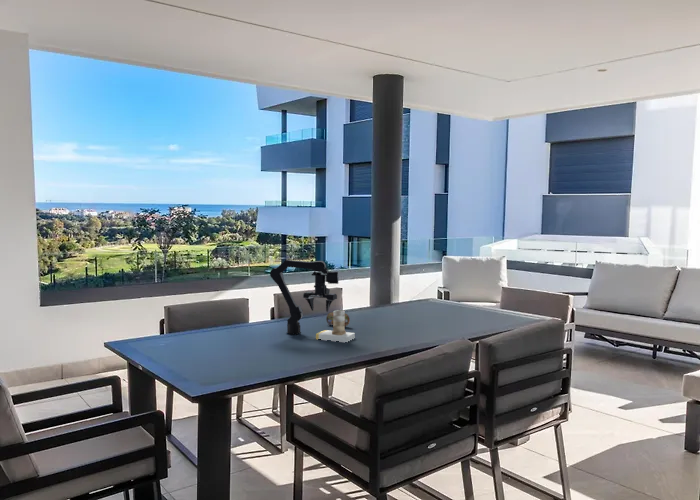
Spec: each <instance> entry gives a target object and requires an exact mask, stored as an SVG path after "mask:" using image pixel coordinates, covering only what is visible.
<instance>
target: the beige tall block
mask: <svg viewBox="0 0 700 500" xmlns="http://www.w3.org/2000/svg"><path fill="white" fill-rule="evenodd" d="M345 314H346V312H345V310H342V309H336V310H333V326H332V327H333V329H332V330H331V331H332V334H335V335H343V334H345V333H346V332H347V331H346V329H345V328H346V326H345Z"/></svg>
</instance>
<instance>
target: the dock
mask: <svg viewBox="0 0 700 500" xmlns="http://www.w3.org/2000/svg"><path fill="white" fill-rule="evenodd" d="M332 331H333V330H330V329H329V330H328V329H324V330H322V331H318V332H317V333H315V340H318V339H321V340H320V341H327V340H331V341H330V342H336V341H339V342H338V343H345V342H347V343H348V341H349V342H351V341H353V340H355V339H354V338H356V336H355V335H356V333H355V332H349V331H346V333H345V334H343V335H335V334H332ZM352 339H353V340H352ZM350 340H351V341H350Z"/></svg>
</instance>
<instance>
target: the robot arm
mask: <svg viewBox="0 0 700 500" xmlns="http://www.w3.org/2000/svg"><path fill="white" fill-rule="evenodd" d="M288 268H294V269H295V268H297V269H308V270H311V271H313V273H311V276H314V285H313V288H314V292H313V291H306V292H304V293H303V295H302V298H303V299H305V300H306V302H307V303H308V305H309V307H310V310H311V311H314V300H315V298H322V299H326V300H325V311H326V313H328V312H329V309H330V308H331V304H332V302H333V301H335V300H337V299H338V295H337V294H336V293H330V291H331V290H330V288H327V284H329V285H330V284H331V285H332V284H333V285H334V284H335V285H336V284H337V285H338V284H339V281H340V280H339V271H329V269H328V268H327V267H326V263H325V261H323V260H315V261H302V260H293V259H292V260H290V259H286V260H284V261H283V262H282V263H280V264H279V266H277V267H273V268H272V269H271V270H270V272H269V276H270V278H271V279H272V280H273V281H274V283H275V284H276V285H277V286H278V289H279V291H280V292H281V294H282V296H283V298H284V300H285V302H286V304H287V306H288V310H289V315H290V317H289V318H288V319H287V320H286V321H287V322H286V323H287V324H286V325H287V330H286V331H287V332H286V333H289V334H288V335H293V334H296V335H298V333H299V334H301V333H302V332H301V325H300V320H302V318H303V315H304V313H303V312H304V310H303V309H302V307H301V304H299V305H298V304H297V303H296V301H295V300H294V297H293V296H292V294H291V292H290V290H289V288H288V286H287V284H286V281H285V279H284V278H285V277H284V273H283V272H285V271H286V270H287V269H288ZM326 283H327V284H326Z"/></svg>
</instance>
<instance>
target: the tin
mask: <svg viewBox="0 0 700 500" xmlns="http://www.w3.org/2000/svg"><path fill="white" fill-rule="evenodd" d="M350 321H351V320H350V316H349V315H348V314H347V313H345V327H347V326H348V325H350ZM326 322H327V324H328V325H329V326H330V325H333V312H329V313H327V315H326Z"/></svg>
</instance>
